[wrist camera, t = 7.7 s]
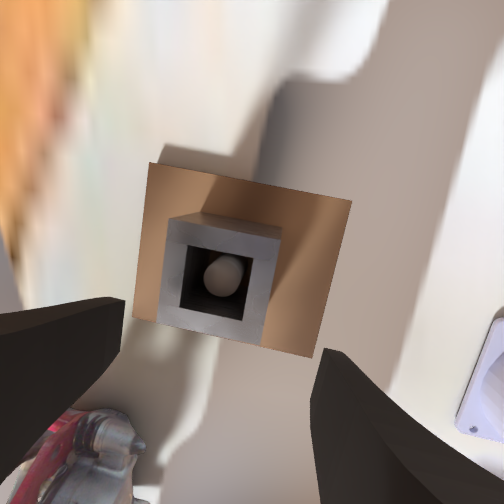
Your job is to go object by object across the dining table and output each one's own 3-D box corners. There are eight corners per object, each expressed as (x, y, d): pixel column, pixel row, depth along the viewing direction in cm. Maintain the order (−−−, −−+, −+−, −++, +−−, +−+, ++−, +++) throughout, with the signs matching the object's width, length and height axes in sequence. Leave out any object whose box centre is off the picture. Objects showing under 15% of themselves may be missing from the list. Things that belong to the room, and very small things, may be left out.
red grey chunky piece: (-13, 380, 21) (-83, 592, 11) (152, 358, 27) (203, 483, 17) (-15, 510, 23) (-73, 779, 13) (137, 463, 29) (174, 626, 19)
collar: (282, 227, 18) (281, 240, 13) (266, 306, 19) (259, 345, 14) (200, 211, 18) (168, 218, 13) (189, 289, 19) (156, 322, 14)
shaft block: (348, 200, 18) (368, 202, 14) (310, 350, 20) (317, 394, 16) (156, 163, 19) (117, 154, 15) (139, 311, 21) (100, 342, 17)
